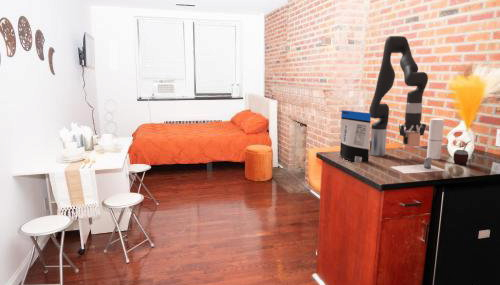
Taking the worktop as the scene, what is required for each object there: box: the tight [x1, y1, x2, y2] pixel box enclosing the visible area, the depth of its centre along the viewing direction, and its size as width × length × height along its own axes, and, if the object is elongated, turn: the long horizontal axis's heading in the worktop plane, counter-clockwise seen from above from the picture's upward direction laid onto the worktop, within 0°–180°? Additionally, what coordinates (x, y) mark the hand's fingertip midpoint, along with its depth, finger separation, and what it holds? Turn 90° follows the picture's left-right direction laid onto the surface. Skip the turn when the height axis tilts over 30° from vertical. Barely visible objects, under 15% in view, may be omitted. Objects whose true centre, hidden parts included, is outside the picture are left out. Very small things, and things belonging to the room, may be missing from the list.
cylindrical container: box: [426, 117, 445, 160], centre depth 193 cm, size 7×7×25 cm
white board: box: [390, 164, 447, 174], centre depth 173 cm, size 24×13×2 cm, turn 99°
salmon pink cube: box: [402, 131, 421, 148], centre depth 169 cm, size 6×6×7 cm
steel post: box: [423, 156, 433, 169], centre depth 173 cm, size 3×3×6 cm
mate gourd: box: [453, 140, 471, 166], centre depth 183 cm, size 8×8×15 cm
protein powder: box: [339, 109, 372, 163], centre depth 196 cm, size 10×24×30 cm, turn 25°
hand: (411, 143), depth 170 cm, fingers closed on salmon pink cube, 5 cm apart
